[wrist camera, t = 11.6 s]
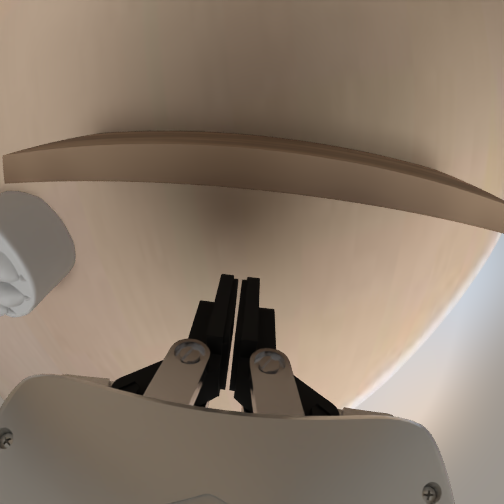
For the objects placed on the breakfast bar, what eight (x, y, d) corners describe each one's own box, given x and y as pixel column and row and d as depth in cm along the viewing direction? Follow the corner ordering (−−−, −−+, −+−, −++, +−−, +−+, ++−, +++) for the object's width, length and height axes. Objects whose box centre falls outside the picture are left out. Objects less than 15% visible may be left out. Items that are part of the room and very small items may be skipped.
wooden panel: (100, 133, 20) (2, 155, 10) (436, 170, 20) (527, 213, 10) (100, 154, 20) (5, 189, 10) (432, 190, 21) (518, 243, 11)
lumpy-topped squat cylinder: (-5, 186, 21) (-59, 213, 14) (74, 203, 22) (12, 242, 14) (4, 265, 26) (-38, 301, 18) (79, 295, 27) (37, 346, 19)
